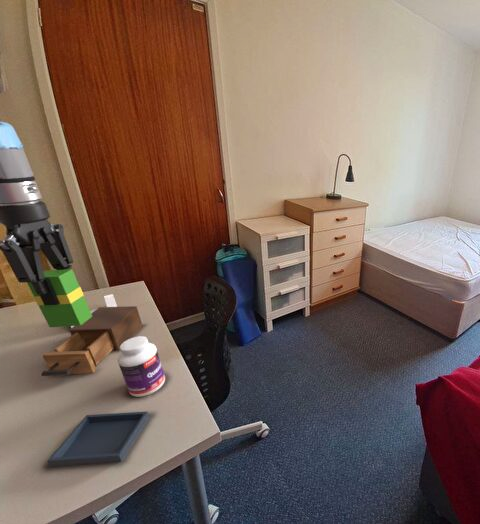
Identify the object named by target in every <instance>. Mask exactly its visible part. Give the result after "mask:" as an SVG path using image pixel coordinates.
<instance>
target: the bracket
mask: <svg viewBox="0 0 480 524" xmlns="http://www.w3.org/2000/svg"><path fill="white" fill-rule="evenodd" d="M103 297H104V298H103V299H104V301H105V304H106V306H105V307H118V304H117V301H116V299H115V296H114V294H113V293H110V294H106V295H103ZM97 309H98V308H95V309H92V310H90V312H91V313H93V312H94V311H95V310H97ZM72 327H74V326H70V329H71V328H72Z"/></svg>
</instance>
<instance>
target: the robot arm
mask: <svg viewBox="0 0 480 524" xmlns="http://www.w3.org/2000/svg"><path fill="white" fill-rule="evenodd" d="M42 199H43V196H42V194H41V191H40V188H39V185H38V183H37V181H36V178H35V176H34V173H33V170H32V167H31V165H30V162H29V160H28V157H27V155H26V152H25V149H24V144H23V143H22V142H21V140H20V137H19V136H18V134H17V132H16V130H15V128H14V126H13V125H12V124H10V123H9V122H5V121H0V224H2V225H3V226H4V227H5V234H6V236H5V237H4V238H2V239H0V251H1V252H2V254H3V256H4V258H5V259H6V262H7V263H8V265H9V268H10V269H11V271H12V273H13V274H14V276H15V278H16V280H17V282H18V283H20V284H21V283H22V284H23V283H27V282H31V283H32V285H33V287H34V289H35V292H36V293H37V294H38V295H40V297H41V299H42V301H43V303H44V305H58V304H60V302H59V300H58V298H57V295H56V293H55V291H54V289H53V286H52V284H51V282H50V280H49V279H45V277H44V273H43V271H44V268H43V264H42V260H41V255H40V251H41V252H42V254H43V255H44V257H45V258H46V259H47V261H48V263H49V265H50V266H51V267H52V268H53V270H71V269H72V268H73V265H72V264H73V263H74V259H73V256H72V253H71V251H70V247H69V245H68V243H67V239H66V237H65V234H64V224H61V223H51V222H50V221H49V219H50V218H51V215H50V212H49V210H48V207H47V205H46V203H45V202H44V201H42ZM35 275H36V276H35Z"/></svg>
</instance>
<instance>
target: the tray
mask: <svg viewBox="0 0 480 524" xmlns="http://www.w3.org/2000/svg"><path fill="white" fill-rule="evenodd" d="M149 419H150V414H149V411H134V412H133V411H132V412H115V413H100V414H86V415H85V416H84V417H83V419H82V420H81V421H80V422H79V423H78V425H77V426H76V427H75V428H74V429H73V430H72V432H71V433H70V434H69V435H68V436H67V437H66V438H65V440H64V441H63V442H62V443H61V445H60V446H59V447H58V448H57V449H56V450H55V451H54V452H53V454H52V455H51V456H50V457H49V458H48V459H47V463H48V464H49V466H50V468H57V467H69V466H81V465H95V464H108V463H121V462H123V460H124V459H125V458H126V456H127V454H128V453H129V451H130V449H131V448H132V446H133V444H134V443H135V441H136V440H137V438H138V437H139V435H140V433H141V432H142V430H143V428H144V427H145V425H146V423H147V422H148V420H149Z"/></svg>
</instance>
